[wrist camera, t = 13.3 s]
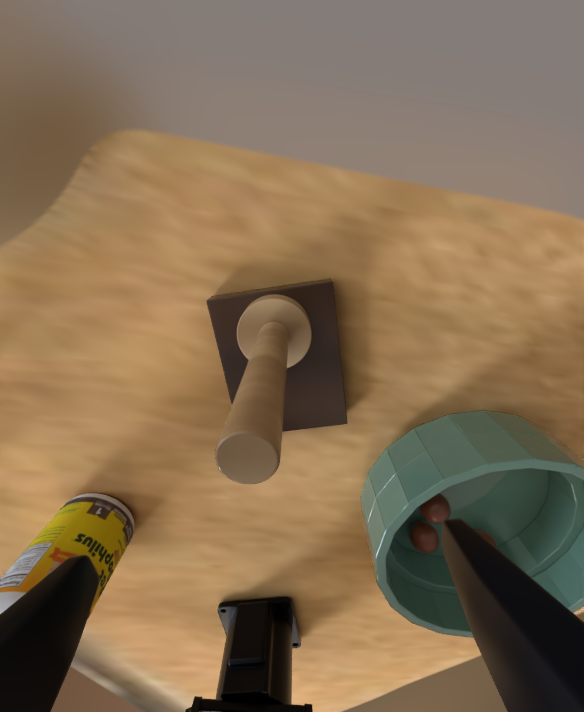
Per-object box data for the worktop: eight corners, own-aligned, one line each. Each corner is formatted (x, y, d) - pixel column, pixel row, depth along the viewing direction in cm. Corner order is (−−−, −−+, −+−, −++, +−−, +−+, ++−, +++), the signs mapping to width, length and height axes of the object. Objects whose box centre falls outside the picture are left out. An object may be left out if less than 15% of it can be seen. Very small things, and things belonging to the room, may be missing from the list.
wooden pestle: (314, 357, 19) (336, 514, 8) (247, 365, 19) (187, 527, 9) (306, 289, 17) (320, 375, 7) (233, 299, 18) (143, 396, 7)
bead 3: (486, 541, 24) (502, 566, 23) (459, 543, 25) (472, 569, 23) (488, 521, 24) (504, 546, 22) (460, 524, 24) (474, 548, 22)
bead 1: (429, 526, 23) (449, 533, 21) (407, 508, 23) (426, 513, 21) (441, 501, 23) (462, 505, 22) (420, 483, 23) (439, 486, 21)
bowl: (544, 549, 26) (606, 628, 21) (365, 565, 27) (382, 645, 22) (572, 391, 21) (663, 444, 16) (351, 418, 22) (368, 476, 17)
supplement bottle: (151, 532, 26) (65, 710, 16) (91, 549, 26) (-25, 728, 17) (114, 480, 24) (-8, 645, 14) (50, 499, 25) (-105, 669, 15)
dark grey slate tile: (345, 414, 22) (347, 424, 20) (242, 426, 22) (239, 437, 21) (330, 278, 18) (332, 281, 17) (211, 296, 19) (205, 300, 18)
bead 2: (445, 528, 22) (443, 560, 22) (433, 520, 24) (431, 549, 24) (416, 523, 22) (413, 555, 22) (406, 515, 24) (404, 544, 24)
